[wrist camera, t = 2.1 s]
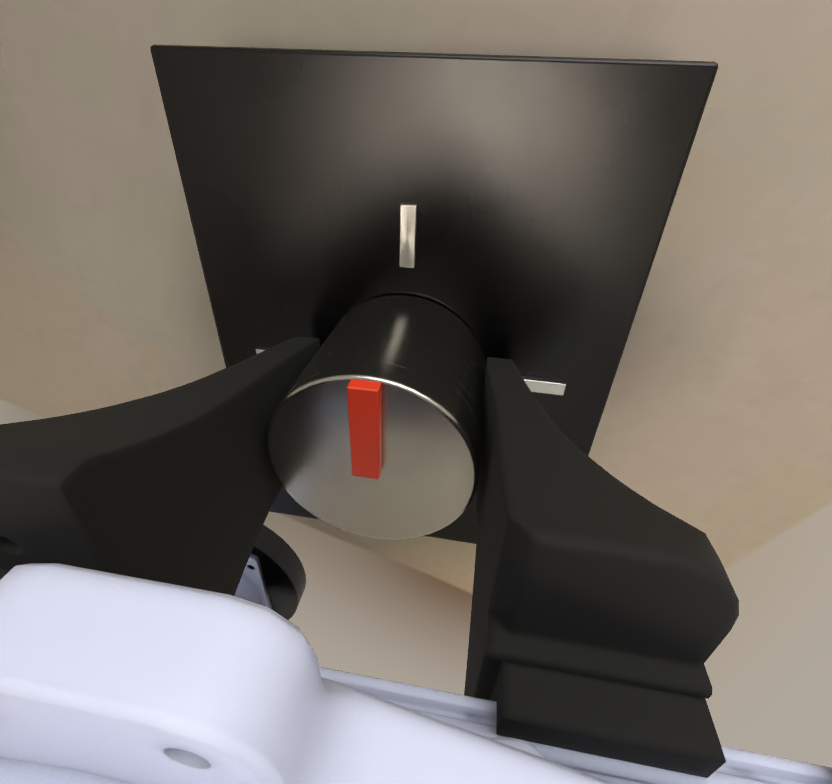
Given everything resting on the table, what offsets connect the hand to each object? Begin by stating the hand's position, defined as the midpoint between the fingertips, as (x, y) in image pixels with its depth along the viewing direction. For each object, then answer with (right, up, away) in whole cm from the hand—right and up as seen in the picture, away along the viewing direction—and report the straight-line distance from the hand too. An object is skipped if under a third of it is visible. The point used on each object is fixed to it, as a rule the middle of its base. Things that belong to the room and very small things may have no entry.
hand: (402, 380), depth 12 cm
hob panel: (+1, +2, +3) cm, 4 cm away
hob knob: (0, 0, 0) cm, 1 cm away
